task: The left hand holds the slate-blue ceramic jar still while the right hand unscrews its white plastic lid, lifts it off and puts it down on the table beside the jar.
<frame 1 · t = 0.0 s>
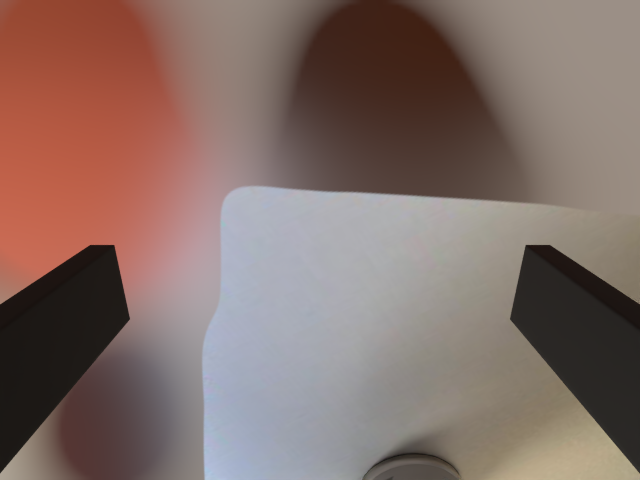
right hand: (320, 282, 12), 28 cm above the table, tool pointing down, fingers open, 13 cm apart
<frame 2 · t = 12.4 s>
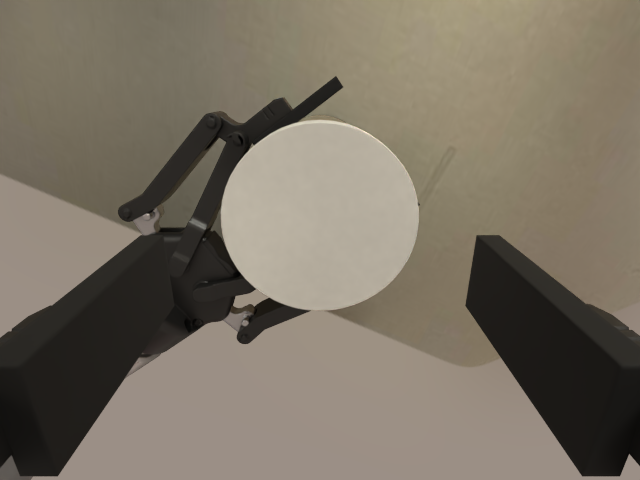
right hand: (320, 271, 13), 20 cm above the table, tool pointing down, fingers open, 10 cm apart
left hand: (377, 141, 25), fingers closed on jar, 8 cm apart
lid: (319, 223, 18), point 15 cm above the table, screwed on, not yet turned
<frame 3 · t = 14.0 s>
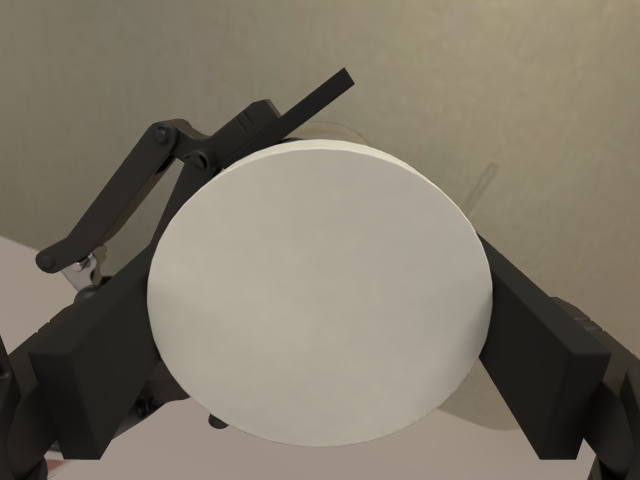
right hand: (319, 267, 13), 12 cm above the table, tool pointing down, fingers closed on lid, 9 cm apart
lid: (319, 315, 11), point 15 cm above the table, screwed on, not yet turned, touching right hand
jar: (320, 188, 25), on the table, touching left hand
when the right hand's fingers open (12 cm above the table, at t = 15.7 s): lid stays where it is, point 15 cm above the table.
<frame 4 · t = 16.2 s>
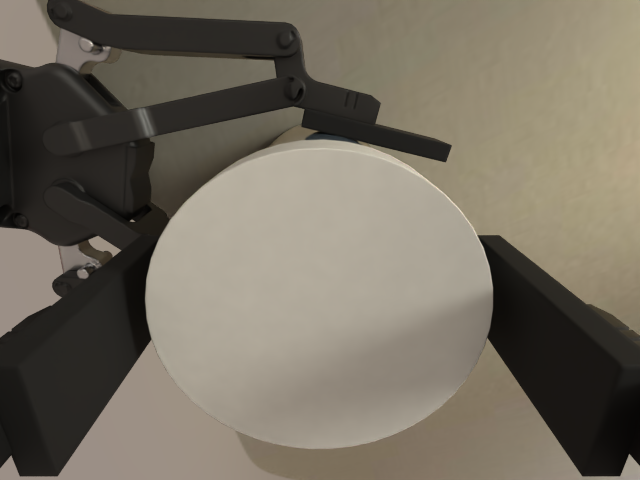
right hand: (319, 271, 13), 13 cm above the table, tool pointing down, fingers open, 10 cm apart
left hand: (409, 237, 19), fingers closed on jar, 8 cm apart
lid: (319, 316, 10), point 15 cm above the table, turned 100° so far, risen 0.3 cm, still on its thread
jar: (319, 187, 25), on the table, touching left hand
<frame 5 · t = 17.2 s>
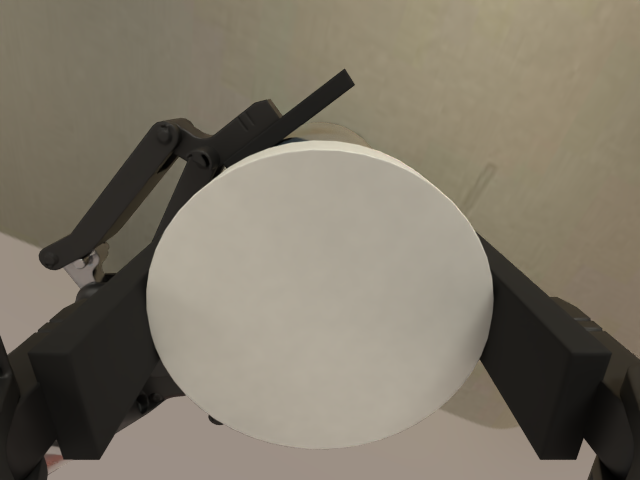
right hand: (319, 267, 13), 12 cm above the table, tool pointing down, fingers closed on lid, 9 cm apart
lid: (319, 317, 11), point 15 cm above the table, turned 100° so far, risen 0.3 cm, still on its thread, touching right hand
jar: (319, 187, 25), on the table, touching left hand
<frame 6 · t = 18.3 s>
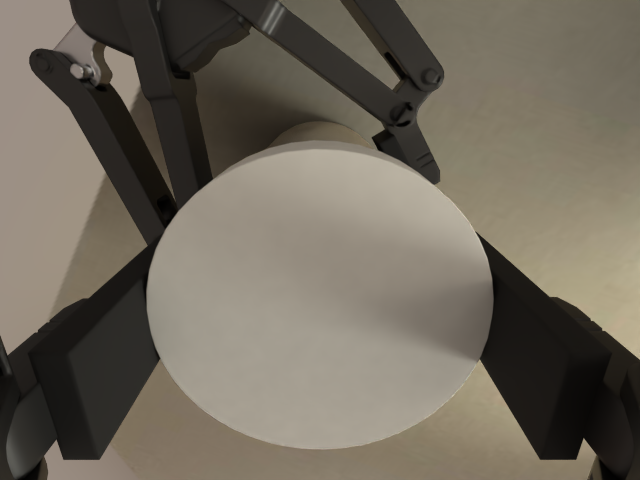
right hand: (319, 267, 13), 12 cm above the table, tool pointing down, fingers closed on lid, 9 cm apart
lid: (319, 317, 11), point 16 cm above the table, off its thread, touching right hand
jar: (319, 186, 25), on the table, touching left hand
when the right hand's fingers open (0 cm above the table, at t = 23.6 s): lid drops 2 cm, point 1 cm above the table.
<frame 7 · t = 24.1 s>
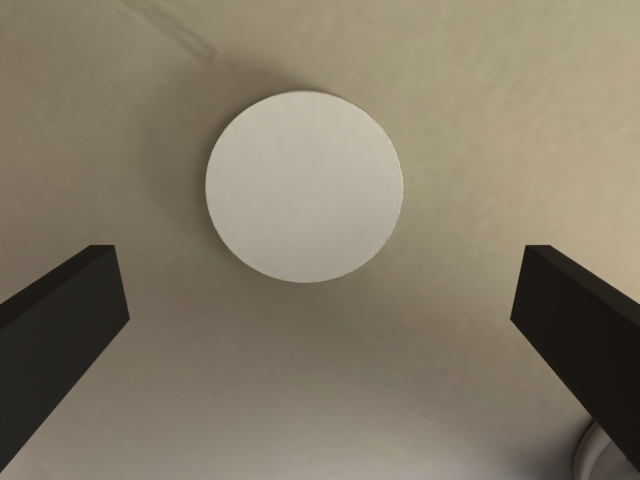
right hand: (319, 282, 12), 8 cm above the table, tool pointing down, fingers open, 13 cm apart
lid: (304, 194, 18), point 1 cm above the table, off its thread
when the left hand's fingers open (6 cm above the table, at t = 24.4 s): jar stays where it is, on the table.
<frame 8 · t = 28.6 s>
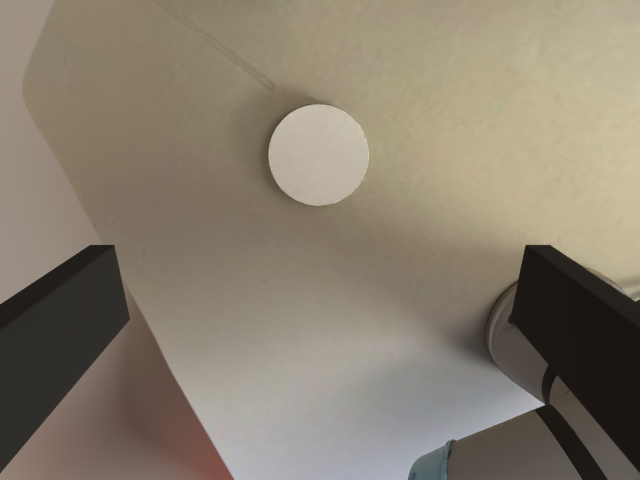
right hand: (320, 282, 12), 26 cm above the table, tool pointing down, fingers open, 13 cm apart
lid: (318, 156, 35), point 1 cm above the table, off its thread
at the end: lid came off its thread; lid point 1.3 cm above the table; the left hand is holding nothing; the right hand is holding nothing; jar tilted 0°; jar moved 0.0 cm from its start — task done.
